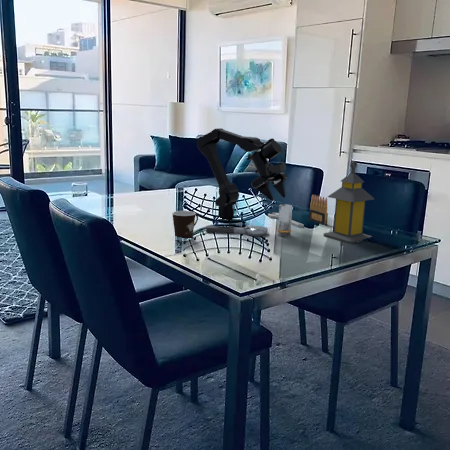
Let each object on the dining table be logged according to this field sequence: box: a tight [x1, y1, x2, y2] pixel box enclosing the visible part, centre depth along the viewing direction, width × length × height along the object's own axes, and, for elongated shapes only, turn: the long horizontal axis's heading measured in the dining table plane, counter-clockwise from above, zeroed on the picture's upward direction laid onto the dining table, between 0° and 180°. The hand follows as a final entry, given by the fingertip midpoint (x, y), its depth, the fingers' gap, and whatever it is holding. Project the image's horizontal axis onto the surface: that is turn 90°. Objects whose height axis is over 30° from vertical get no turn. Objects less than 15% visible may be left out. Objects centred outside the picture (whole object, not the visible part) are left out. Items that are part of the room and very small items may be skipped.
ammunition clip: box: [308, 194, 329, 226], centre depth 218 cm, size 11×2×12 cm, turn 30°
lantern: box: [323, 160, 375, 244], centre depth 192 cm, size 14×14×30 cm
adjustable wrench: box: [267, 212, 305, 229], centre depth 219 cm, size 25×6×2 cm, turn 22°
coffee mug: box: [172, 210, 199, 239], centre depth 186 cm, size 12×9×10 cm
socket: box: [277, 203, 293, 238], centre depth 194 cm, size 5×5×12 cm
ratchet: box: [205, 225, 269, 237], centre depth 197 cm, size 24×9×2 cm, turn 86°
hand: (278, 198), depth 202 cm, fingers open, 9 cm apart
